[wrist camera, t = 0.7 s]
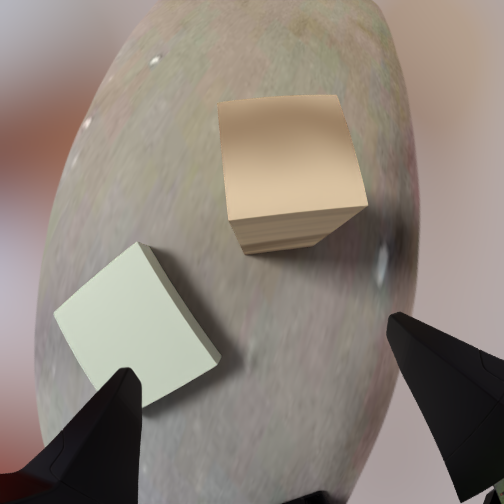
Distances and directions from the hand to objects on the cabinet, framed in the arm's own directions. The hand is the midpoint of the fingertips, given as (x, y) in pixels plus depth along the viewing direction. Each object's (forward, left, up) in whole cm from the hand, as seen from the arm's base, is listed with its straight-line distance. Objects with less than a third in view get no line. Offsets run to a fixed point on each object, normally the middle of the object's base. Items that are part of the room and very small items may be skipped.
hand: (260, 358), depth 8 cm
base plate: (+3, +11, -13) cm, 17 cm away
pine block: (+7, -4, -13) cm, 15 cm away
